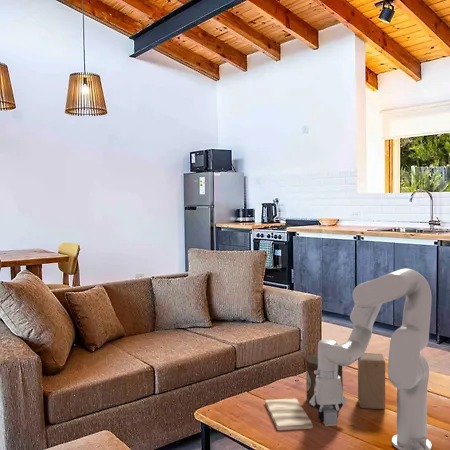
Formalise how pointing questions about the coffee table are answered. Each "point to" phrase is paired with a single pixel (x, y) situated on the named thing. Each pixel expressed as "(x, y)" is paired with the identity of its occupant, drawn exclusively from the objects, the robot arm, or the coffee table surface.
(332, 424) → the block
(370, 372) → the wooden block
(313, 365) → the wooden container
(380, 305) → the robot arm
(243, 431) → the coffee table surface
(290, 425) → the board
